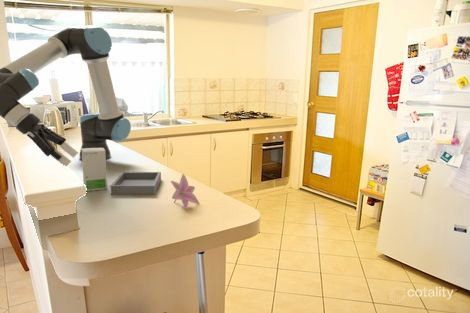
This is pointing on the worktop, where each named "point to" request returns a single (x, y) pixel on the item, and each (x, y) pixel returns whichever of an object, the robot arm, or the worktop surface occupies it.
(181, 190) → the lily
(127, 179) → the tray
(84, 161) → the skincare box
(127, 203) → the worktop surface
